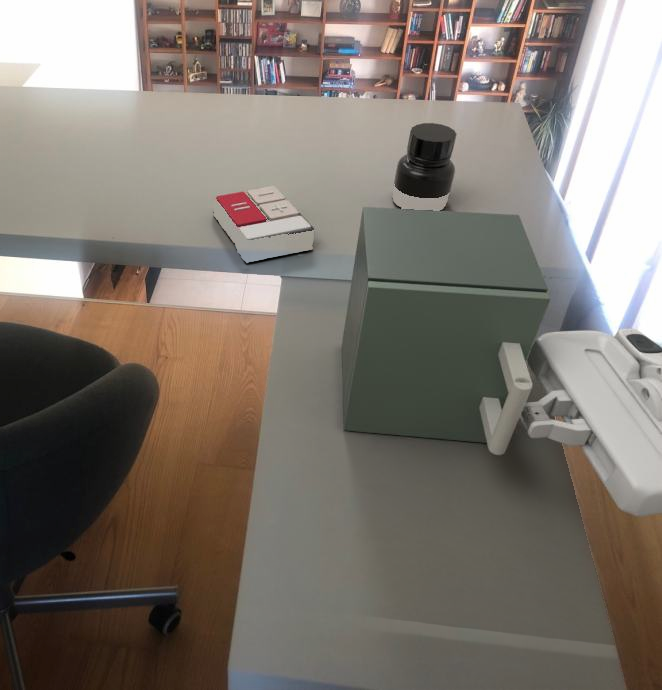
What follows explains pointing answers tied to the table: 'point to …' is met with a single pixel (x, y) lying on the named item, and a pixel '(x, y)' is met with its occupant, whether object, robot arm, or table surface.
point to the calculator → (271, 205)
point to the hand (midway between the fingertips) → (524, 420)
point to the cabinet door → (443, 362)
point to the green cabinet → (435, 259)
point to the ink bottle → (427, 162)
